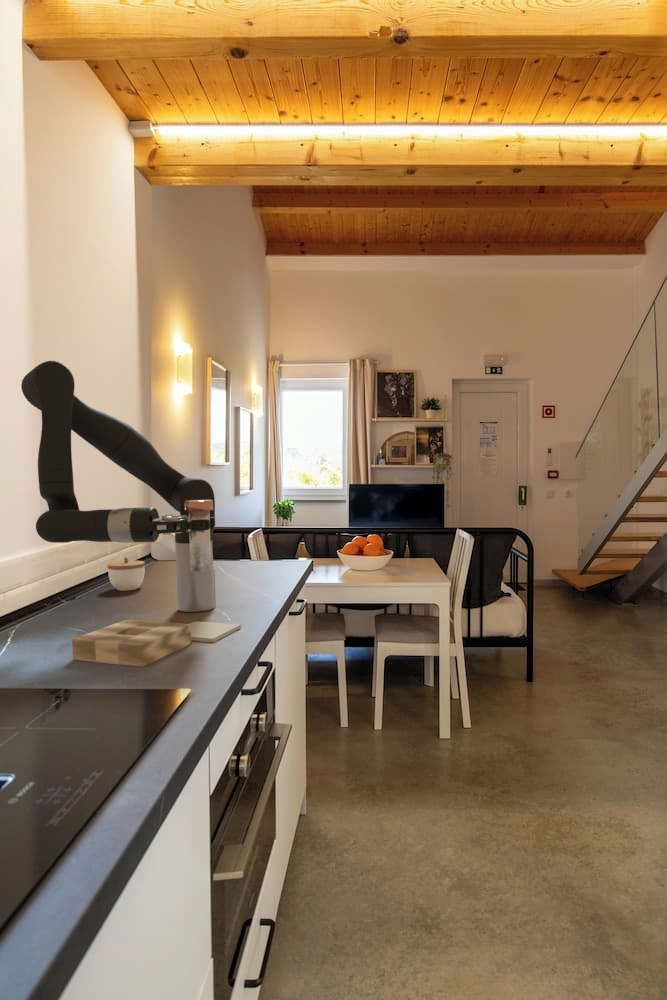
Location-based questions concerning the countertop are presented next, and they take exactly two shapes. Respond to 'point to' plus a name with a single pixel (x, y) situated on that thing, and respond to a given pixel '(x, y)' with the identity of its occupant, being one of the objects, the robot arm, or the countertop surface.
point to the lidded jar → (126, 574)
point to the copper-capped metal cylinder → (199, 535)
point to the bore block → (131, 642)
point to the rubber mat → (211, 631)
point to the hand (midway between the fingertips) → (211, 523)
